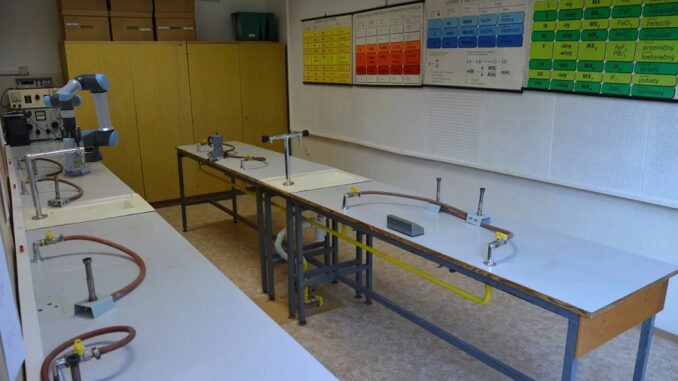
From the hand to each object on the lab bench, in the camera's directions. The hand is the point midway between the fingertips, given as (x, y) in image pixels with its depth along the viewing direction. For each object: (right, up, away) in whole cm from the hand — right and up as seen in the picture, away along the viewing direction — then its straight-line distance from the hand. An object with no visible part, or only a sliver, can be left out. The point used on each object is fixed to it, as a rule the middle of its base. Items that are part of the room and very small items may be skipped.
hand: (73, 152), depth 327 cm
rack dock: (0, -14, +4) cm, 15 cm away
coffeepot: (+79, +2, +63) cm, 101 cm away
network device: (+1, -11, +2) cm, 11 cm away
